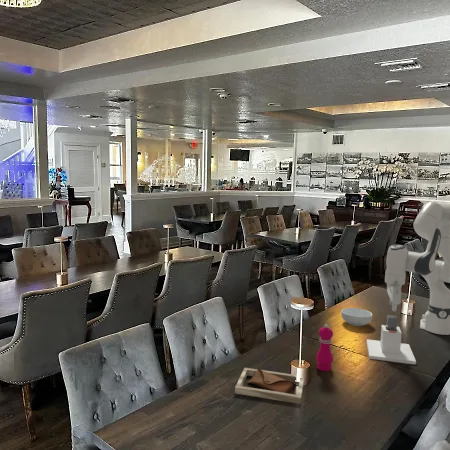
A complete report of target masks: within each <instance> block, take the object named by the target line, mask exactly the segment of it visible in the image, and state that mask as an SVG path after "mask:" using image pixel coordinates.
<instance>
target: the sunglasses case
mask: <svg viewBox="0 0 450 450" xmlns="http://www.w3.org/2000/svg"><path fill="white" fill-rule="evenodd" d="M262 370H263V369H260V368H257V371H256V373H255V374H254V376H251V378H250V379H249V381H247V384H250V385H253V386H256V387H257V388H259V389H262V390H269V391H275V392H282V393H288V394H294V392H295V391H296V385H295V382H291V381H287V380H285V379H282V378H280V377H278V376H275V375H273V374H270V373H267V372H265V371H266V370H264V371H262Z"/></svg>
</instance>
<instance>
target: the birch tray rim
mask: <svg viewBox="0 0 450 450" xmlns="http://www.w3.org/2000/svg"><path fill="white" fill-rule="evenodd" d="M257 370H258V368H257V369H256V368H249V367H243V370H242V372H241V374H240V376H239V378H238V380H237V383H236V384H235V386H234V394H236V395H242V396H243V395H244V396H248V397H249V396H250V397H254V398H255V397H257V398H261V399H267V400H274V401H278V402H279V401H280V402H287V403H292V404H298V405H301V403H302V399H303V398H302V397H303V390H304V384H305V377H304V378H300V382H299V383H298V386H297V392H296V393H297V394H295V393H292V394H288V393H282V392H275V391H269V390H264V389H262V388H256V387H255V388H254V387H249V386H244V383H245V381H246V379H247V376H249V377H253V376H254V374H255V373H256V371H257ZM261 370H262V371H265V372H267V373H270V374H273V375H275V376H278V377H280V378H282V379H285V380H287V381H291V382H293V383H295V380H296V377H295V376H294V375H295V374H292V373H286V372H285V373H284V372H277V371H269V370H264V369H261Z"/></svg>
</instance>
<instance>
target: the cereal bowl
mask: <svg viewBox="0 0 450 450" xmlns="http://www.w3.org/2000/svg"><path fill="white" fill-rule="evenodd" d="M340 313H341V319H342V320H343V321H344V322H346V323H347V324H349V325H351V326H354V327H362V326H364V325H365V326H366V325H369V324H370V323H371V321H373V313H372V312H371V311H369V310H367V309H364V308H358V307H347V308H343V309H341V312H340Z"/></svg>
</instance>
